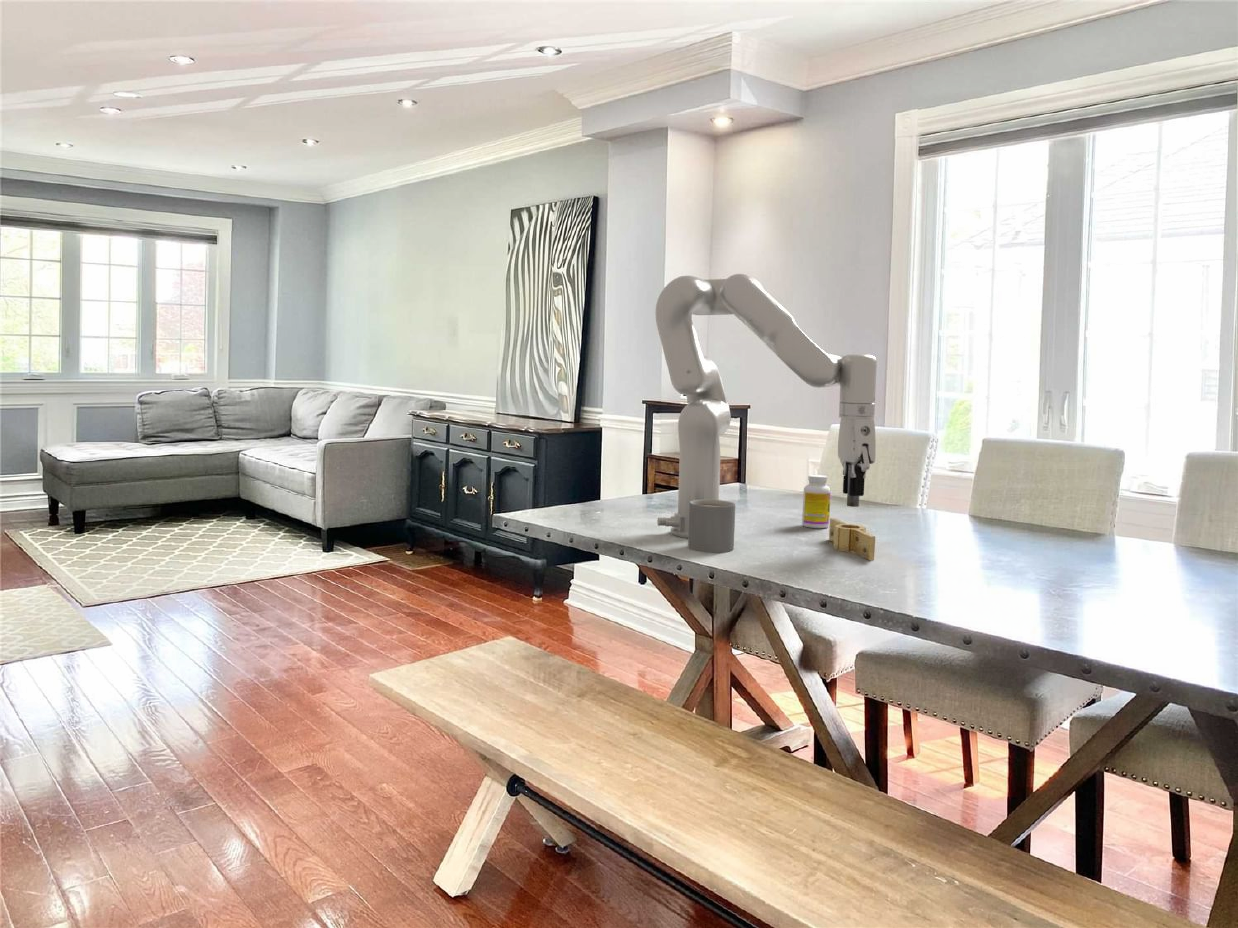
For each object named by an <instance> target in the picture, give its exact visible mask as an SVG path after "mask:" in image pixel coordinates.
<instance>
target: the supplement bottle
mask: <svg viewBox="0 0 1238 928" xmlns="http://www.w3.org/2000/svg"><path fill="white" fill-rule="evenodd" d="M807 479H808V484H806V485H805V486H804V487H803V495H802V496H803V500H802V502H803V503H802V516H801V517H802V518H801V519H802V520H801V524H802V526H803V527H806V528H809V529H826V528H829V527H830V511H831V493H832V492H831V488H830V486H828V485H827V482H828V476H827V475H824V474H809V475H808V477H807Z"/></svg>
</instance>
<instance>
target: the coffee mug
mask: <svg viewBox="0 0 1238 928" xmlns="http://www.w3.org/2000/svg"><path fill="white" fill-rule="evenodd" d="M735 523H736V503H734V502H733V501H729V500H723V499H722V500H721V499H719V500H694V501H691V502H690V507H689V536H688V538H687V539H688V540H687V541H688V542H687V548H688V549H689V550H692V551H694V552H700V553H708V554H709V553H710V554H719V553H721V554H723V553H724V554H725V553H730V552H733V551H734V549H735V548H734V547H735V527H736V525H735Z"/></svg>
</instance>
